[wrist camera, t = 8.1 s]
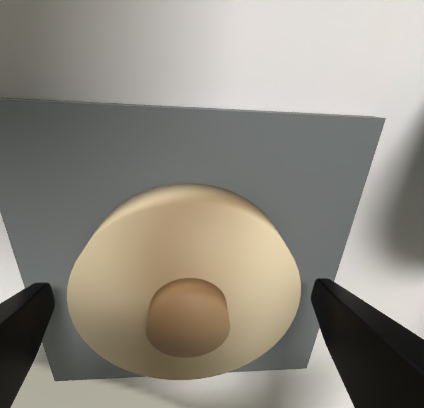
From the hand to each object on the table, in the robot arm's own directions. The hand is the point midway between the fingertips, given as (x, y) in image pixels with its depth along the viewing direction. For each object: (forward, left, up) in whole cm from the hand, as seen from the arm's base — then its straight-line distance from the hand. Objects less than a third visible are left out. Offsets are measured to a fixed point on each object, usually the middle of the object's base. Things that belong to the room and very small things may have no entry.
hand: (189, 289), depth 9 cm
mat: (0, 0, -1) cm, 1 cm away
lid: (0, 0, -1) cm, 1 cm away
